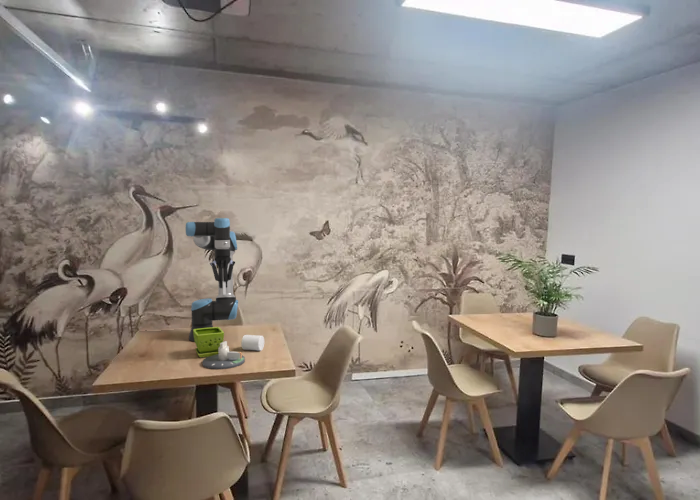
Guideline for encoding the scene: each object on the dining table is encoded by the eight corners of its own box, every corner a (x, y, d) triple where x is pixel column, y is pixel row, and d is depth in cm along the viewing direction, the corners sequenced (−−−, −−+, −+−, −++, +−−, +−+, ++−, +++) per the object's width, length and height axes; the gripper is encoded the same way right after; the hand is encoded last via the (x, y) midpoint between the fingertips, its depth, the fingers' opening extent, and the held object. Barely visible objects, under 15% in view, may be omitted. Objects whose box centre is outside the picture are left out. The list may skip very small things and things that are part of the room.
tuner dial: (196, 361, 218) (195, 358, 218) (233, 353, 231) (233, 350, 231) (213, 372, 203) (213, 368, 203) (252, 363, 216) (252, 359, 216)
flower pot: (196, 359, 222) (196, 335, 221) (192, 352, 234) (192, 329, 233) (225, 356, 228) (224, 331, 227) (219, 349, 240) (219, 326, 240)
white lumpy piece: (216, 360, 215) (216, 343, 215) (221, 357, 220) (221, 340, 220) (239, 362, 213) (238, 344, 212) (243, 358, 218) (243, 342, 217)
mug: (258, 352, 234) (258, 337, 233) (241, 351, 236) (241, 336, 235) (267, 346, 246) (267, 332, 245) (250, 345, 248) (250, 331, 247)
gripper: (213, 249, 217) (214, 296, 219) (237, 248, 226) (238, 293, 227) (207, 248, 223) (208, 294, 225) (231, 247, 231) (231, 291, 233)
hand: (223, 294), depth 226 cm, fingers closed
